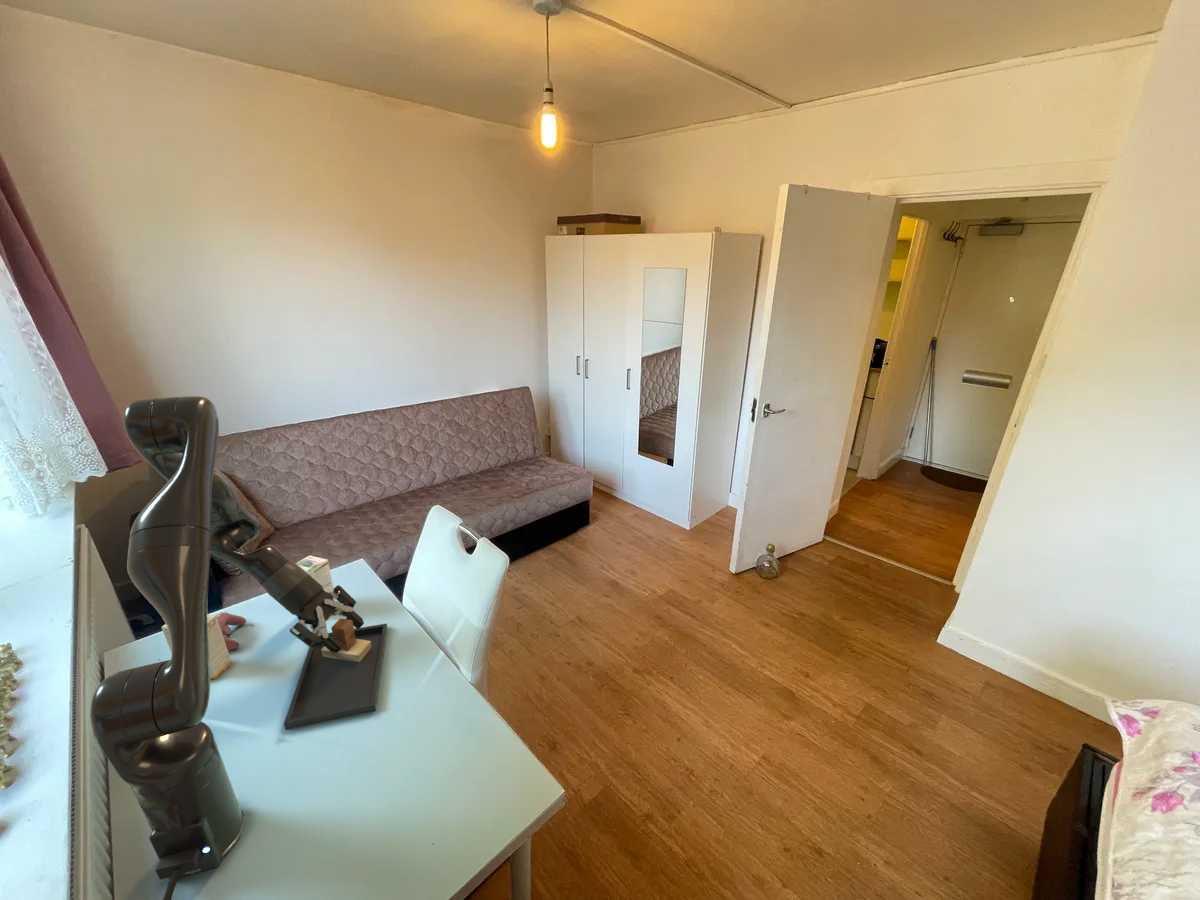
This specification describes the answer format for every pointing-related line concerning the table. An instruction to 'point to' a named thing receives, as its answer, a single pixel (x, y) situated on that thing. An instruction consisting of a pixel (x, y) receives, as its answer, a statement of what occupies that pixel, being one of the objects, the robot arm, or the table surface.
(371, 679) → the tray
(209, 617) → the supplement box
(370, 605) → the table surface
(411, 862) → the table surface
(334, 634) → the stacked wooden blocks
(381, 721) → the table surface
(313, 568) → the syrup box
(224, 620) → the video game controller
